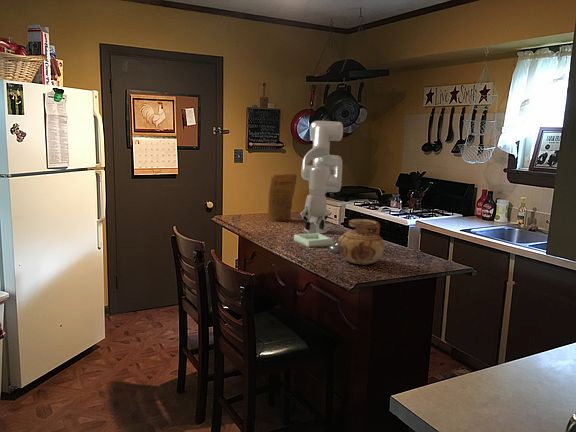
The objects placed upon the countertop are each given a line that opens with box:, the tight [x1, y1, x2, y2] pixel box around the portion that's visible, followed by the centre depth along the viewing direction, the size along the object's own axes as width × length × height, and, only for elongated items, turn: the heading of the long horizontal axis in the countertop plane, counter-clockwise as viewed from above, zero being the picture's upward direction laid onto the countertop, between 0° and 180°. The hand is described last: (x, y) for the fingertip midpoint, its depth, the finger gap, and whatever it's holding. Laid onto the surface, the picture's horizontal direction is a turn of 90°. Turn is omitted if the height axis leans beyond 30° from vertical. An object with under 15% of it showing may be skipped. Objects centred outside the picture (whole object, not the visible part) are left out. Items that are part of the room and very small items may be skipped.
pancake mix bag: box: [266, 173, 298, 222], centre depth 286 cm, size 7×19×28 cm, turn 120°
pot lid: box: [328, 242, 341, 255], centre depth 220 cm, size 8×8×4 cm
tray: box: [293, 233, 335, 248], centre depth 234 cm, size 14×14×3 cm
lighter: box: [306, 217, 322, 234], centre depth 233 cm, size 7×2×8 cm, turn 115°
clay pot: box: [337, 218, 385, 266], centre depth 203 cm, size 19×19×20 cm
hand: (314, 229), depth 233 cm, fingers closed on lighter, 7 cm apart
